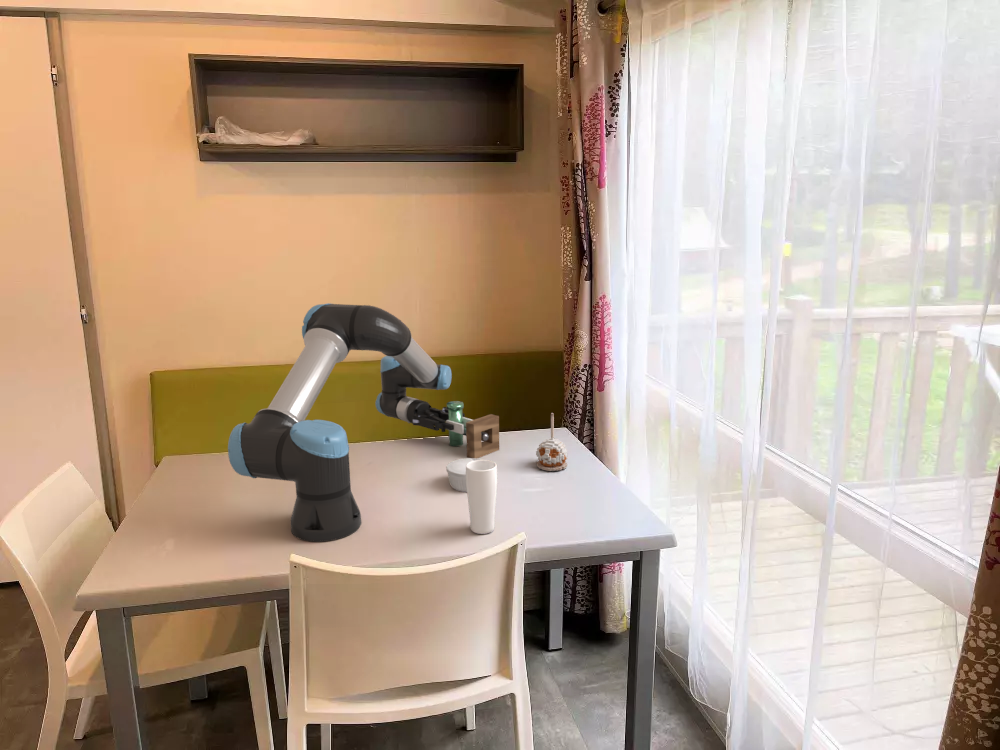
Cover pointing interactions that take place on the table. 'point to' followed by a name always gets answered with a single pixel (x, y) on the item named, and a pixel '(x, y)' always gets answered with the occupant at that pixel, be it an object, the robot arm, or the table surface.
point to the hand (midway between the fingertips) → (468, 427)
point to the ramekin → (458, 473)
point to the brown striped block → (474, 436)
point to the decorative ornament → (552, 452)
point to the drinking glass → (481, 495)
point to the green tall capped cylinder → (456, 416)
